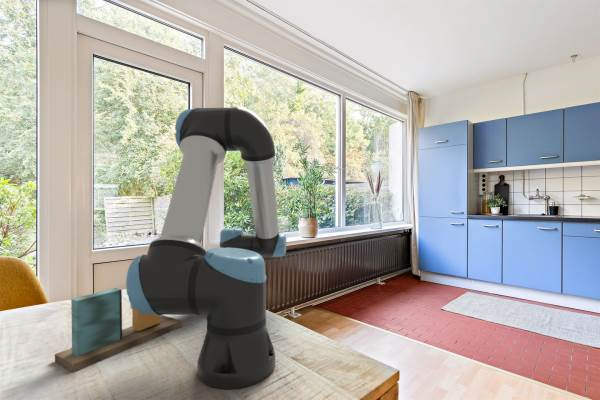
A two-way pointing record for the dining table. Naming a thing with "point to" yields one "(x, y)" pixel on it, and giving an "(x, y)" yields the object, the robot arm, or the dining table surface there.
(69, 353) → the ticket stand
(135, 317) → the stub
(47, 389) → the dining table surface
